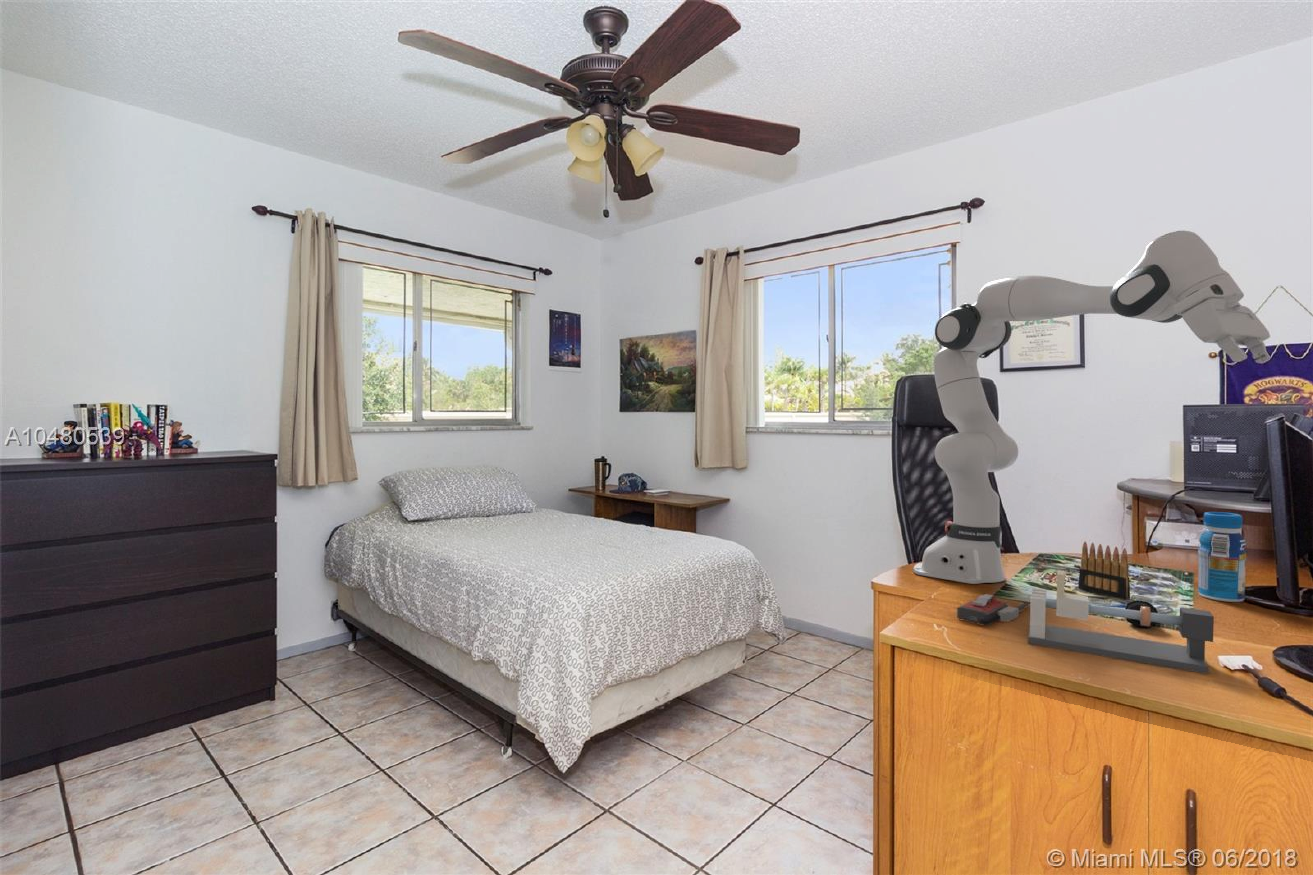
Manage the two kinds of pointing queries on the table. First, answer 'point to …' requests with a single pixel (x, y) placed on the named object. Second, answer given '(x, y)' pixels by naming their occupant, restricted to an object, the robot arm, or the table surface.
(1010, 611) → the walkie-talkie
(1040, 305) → the robot arm
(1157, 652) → the cord rig
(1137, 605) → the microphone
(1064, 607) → the grey l-shaped bracket
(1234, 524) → the blue supplement bottle
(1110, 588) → the ammunition clip
